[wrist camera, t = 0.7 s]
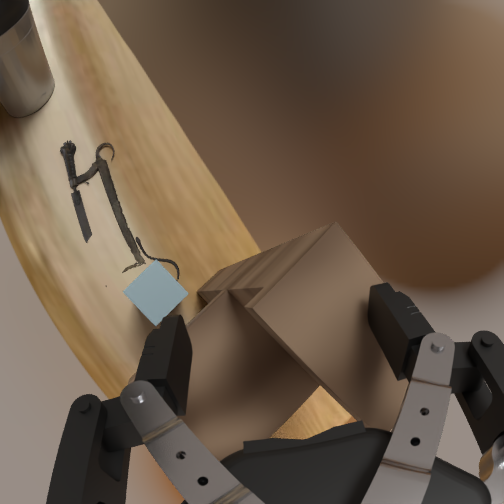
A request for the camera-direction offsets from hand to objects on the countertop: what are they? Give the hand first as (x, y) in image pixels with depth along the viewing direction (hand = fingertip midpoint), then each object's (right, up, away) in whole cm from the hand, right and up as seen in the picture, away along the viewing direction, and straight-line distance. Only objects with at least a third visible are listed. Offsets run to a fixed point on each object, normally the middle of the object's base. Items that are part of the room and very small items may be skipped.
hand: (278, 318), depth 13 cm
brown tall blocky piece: (-6, -8, +25) cm, 27 cm away
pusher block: (-13, -2, +24) cm, 27 cm away
